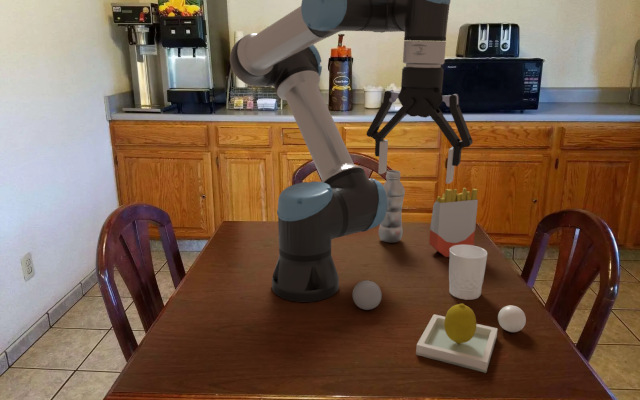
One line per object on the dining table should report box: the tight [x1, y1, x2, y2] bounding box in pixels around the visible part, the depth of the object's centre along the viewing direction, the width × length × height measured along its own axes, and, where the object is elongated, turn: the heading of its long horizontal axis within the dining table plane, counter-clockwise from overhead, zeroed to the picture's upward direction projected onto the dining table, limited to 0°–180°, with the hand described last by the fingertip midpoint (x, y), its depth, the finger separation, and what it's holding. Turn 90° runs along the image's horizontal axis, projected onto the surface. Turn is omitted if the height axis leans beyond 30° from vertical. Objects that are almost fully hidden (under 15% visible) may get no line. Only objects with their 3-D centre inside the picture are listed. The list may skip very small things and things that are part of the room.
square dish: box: [415, 314, 498, 374], centre depth 93 cm, size 12×12×2 cm
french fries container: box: [428, 187, 479, 258], centre depth 133 cm, size 5×11×18 cm, turn 107°
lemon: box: [444, 302, 477, 344], centre depth 92 cm, size 6×6×8 cm
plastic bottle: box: [378, 169, 406, 243], centre depth 141 cm, size 6×7×20 cm
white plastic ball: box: [497, 304, 527, 333], centre depth 97 cm, size 5×5×5 cm
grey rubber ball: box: [351, 279, 383, 311], centre depth 106 cm, size 6×6×6 cm
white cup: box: [448, 245, 488, 301], centre depth 112 cm, size 8×8×10 cm
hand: (414, 177), depth 101 cm, fingers open, 13 cm apart
